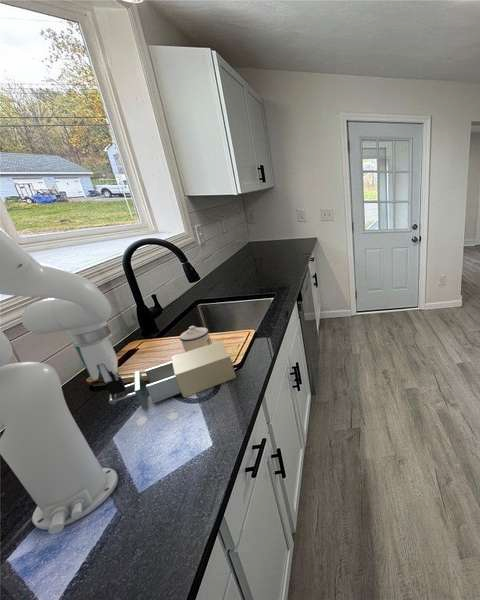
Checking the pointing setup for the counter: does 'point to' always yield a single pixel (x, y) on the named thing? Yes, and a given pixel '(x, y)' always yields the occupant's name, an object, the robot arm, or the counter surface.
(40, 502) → the robot arm
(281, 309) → the counter surface
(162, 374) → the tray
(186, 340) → the teacup with lid
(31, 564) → the counter surface
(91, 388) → the counter surface
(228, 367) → the drawer cabinet
